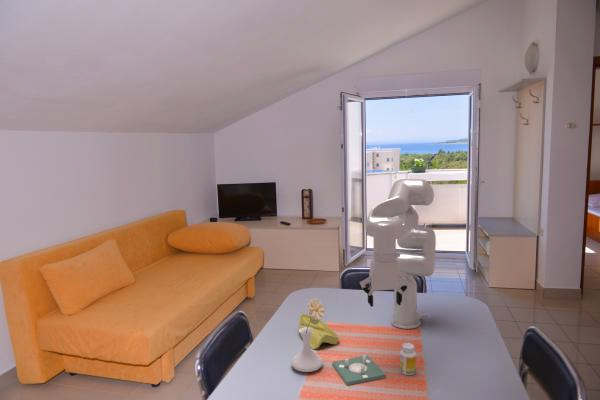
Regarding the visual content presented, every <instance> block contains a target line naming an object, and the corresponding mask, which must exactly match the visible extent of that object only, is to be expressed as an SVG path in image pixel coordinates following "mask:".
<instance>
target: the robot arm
mask: <svg viewBox="0 0 600 400" xmlns="http://www.w3.org/2000/svg"><path fill="white" fill-rule="evenodd" d="M391 186H392V187H391V189H390V191H389V194H388V197H387V199H384V200H383V201H381V202H380V203H379V202H378V204H376V205H374V206H373V207H372V208H371V209H370V211H369V213H368V215H367V219H366V222H365V225H364V226H365V232H366V234H367V235H368V236H369V237H371V238H373V259H371V260H370V265H369V275H368V277H367V278H365V279H363V280H361V281H359V285H360V286H361V288H362V290H363V291H364V292H365V293H366V294H367V304H368V305H369V306H370V307H371V308H372V307H374V295H373V294H374V293H375V292H376V291H387V290H388V291H390V290H393V295H394V296H393V298H394V299H393V303H394V304H393V306H394V307H393V311H394V313H393V314H394V316H392V317H391V318H390V324H391V325H392V326H393V327H396V328H399V329H402V330H411V329H417V328H418V327H420V326H421V323H422V322H421V318H422V319H423V318H428V313H427V312H422V311H418V307H417V306H418V284H417V281H416V279H415V277H414V276H418V277H431V276H433V274H434V272H435V266H436V248H437V247H436V245H437V242H436V241H437V238H436V232H435V231H434V229H432V228H430V227H422V226H421V227H420V226H419V214H418V212H417V211H416V209H415V208H414V207H413V206H431V204H432V203H433V202H434V198H435V194H434V193H435V192H434V189H433V186H432V185H431V183H429V181H427V180H425V179H421V178H419V179H418V178H401V179H398V180H397V181H394V183H393V184H392V185H391ZM396 241H397V242H396ZM397 245H398V247H400V248H402V249H407V250H417V251H418V250H419V251H423V252H414V251H413V252H412V251H397ZM367 284H368V285H369V287H367V286H366V285H367Z"/></svg>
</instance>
